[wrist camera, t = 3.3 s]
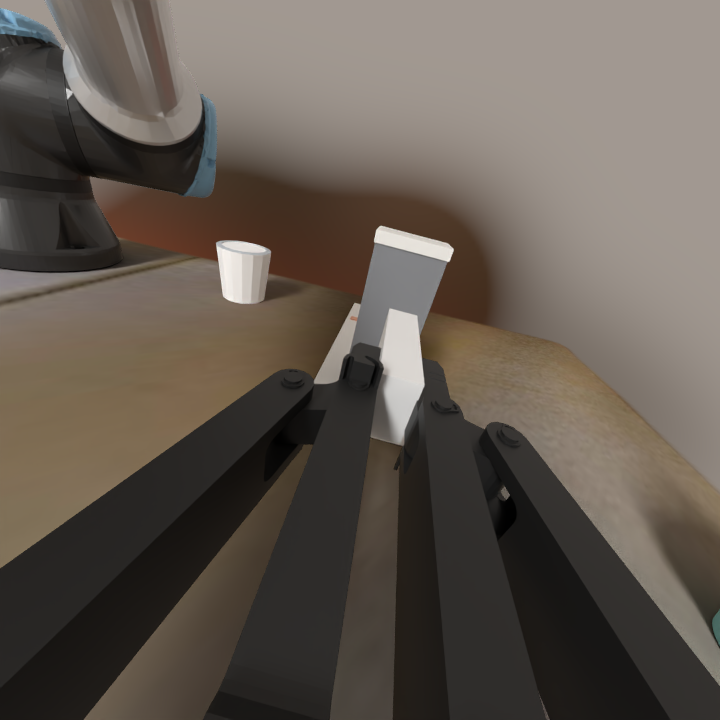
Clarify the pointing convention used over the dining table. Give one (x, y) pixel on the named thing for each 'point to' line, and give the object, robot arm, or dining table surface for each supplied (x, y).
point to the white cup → (243, 271)
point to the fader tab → (399, 281)
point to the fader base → (341, 354)
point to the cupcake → (716, 626)
